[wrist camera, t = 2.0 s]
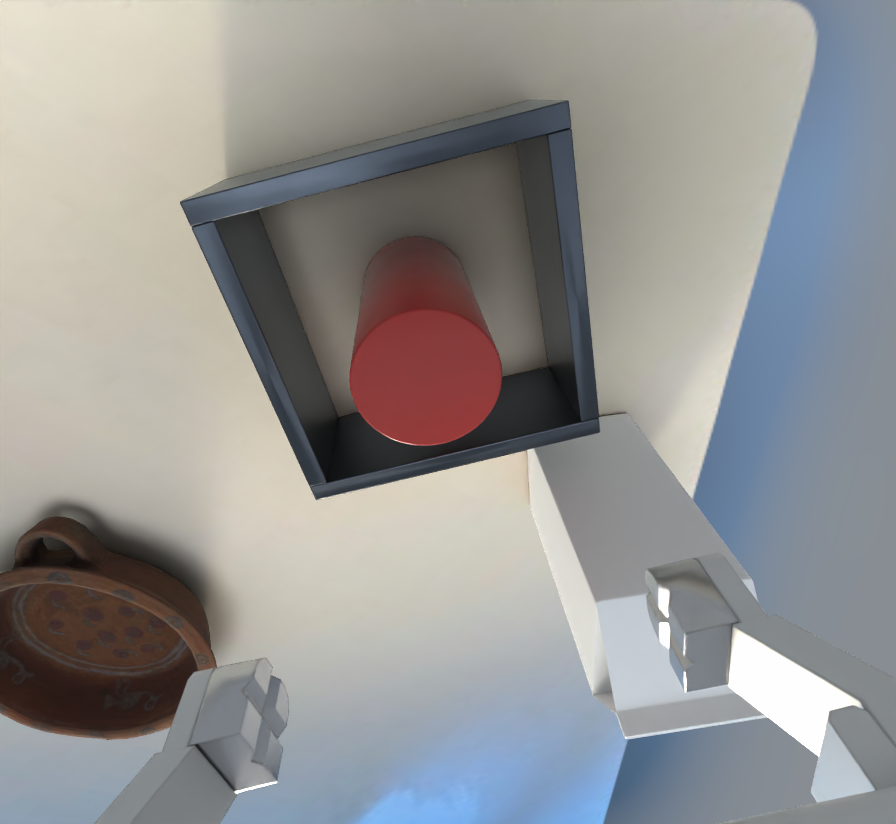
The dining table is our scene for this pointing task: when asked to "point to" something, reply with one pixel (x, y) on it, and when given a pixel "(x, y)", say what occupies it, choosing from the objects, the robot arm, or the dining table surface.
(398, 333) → the can
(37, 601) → the dish
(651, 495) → the milk carton
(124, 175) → the dining table surface
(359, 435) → the open box
